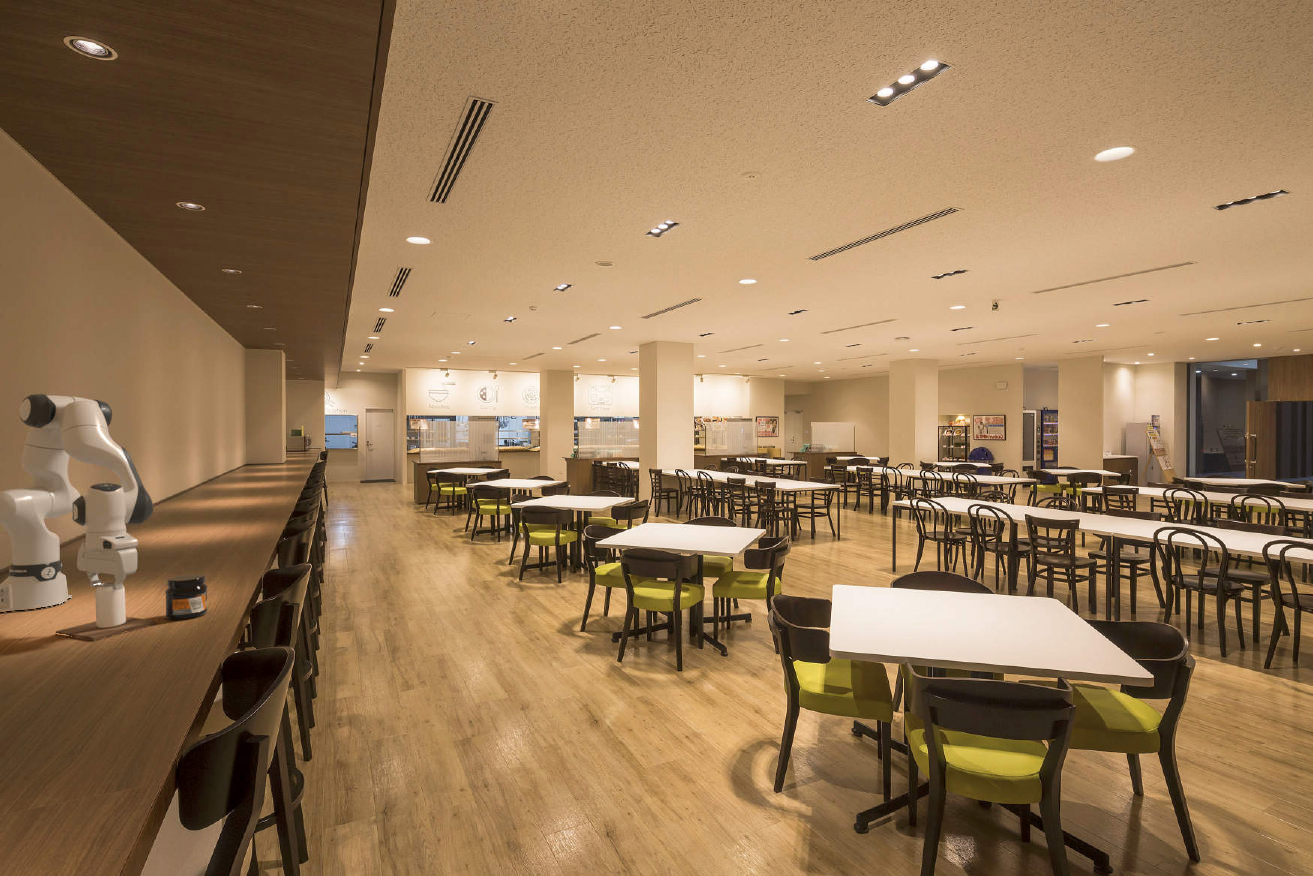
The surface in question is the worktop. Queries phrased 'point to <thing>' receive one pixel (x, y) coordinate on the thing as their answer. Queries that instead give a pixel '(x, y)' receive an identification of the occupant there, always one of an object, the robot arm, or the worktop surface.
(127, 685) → the worktop surface
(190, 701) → the worktop surface
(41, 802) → the worktop surface
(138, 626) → the walnut board
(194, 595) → the supplement container
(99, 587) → the can
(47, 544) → the robot arm
